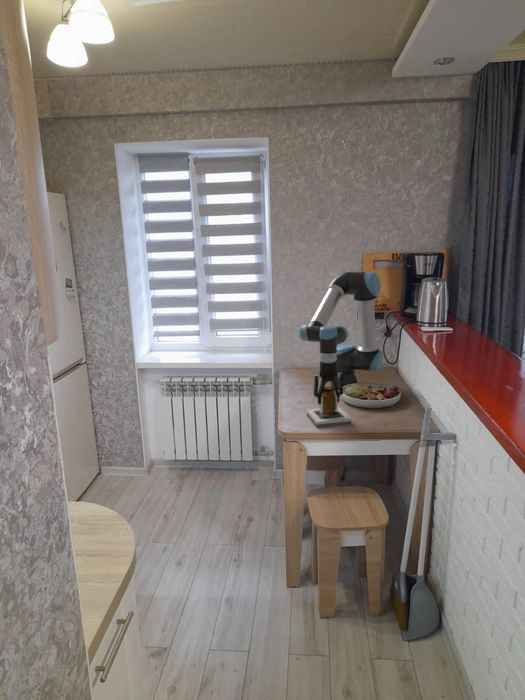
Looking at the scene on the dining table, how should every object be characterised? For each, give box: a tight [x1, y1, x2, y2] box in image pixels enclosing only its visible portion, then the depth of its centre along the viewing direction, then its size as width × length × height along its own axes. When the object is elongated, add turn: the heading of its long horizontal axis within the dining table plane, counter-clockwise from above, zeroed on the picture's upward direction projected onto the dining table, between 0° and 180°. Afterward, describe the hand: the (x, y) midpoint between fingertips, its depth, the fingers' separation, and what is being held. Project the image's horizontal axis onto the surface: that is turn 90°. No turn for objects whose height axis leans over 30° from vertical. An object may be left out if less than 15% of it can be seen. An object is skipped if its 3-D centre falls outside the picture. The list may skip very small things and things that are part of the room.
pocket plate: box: [306, 406, 352, 429], centre depth 215 cm, size 16×16×3 cm
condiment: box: [319, 386, 342, 416], centre depth 213 cm, size 7×8×12 cm
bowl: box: [340, 382, 402, 409], centre depth 239 cm, size 30×30×8 cm
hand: (328, 409), depth 214 cm, fingers closed on condiment, 6 cm apart
